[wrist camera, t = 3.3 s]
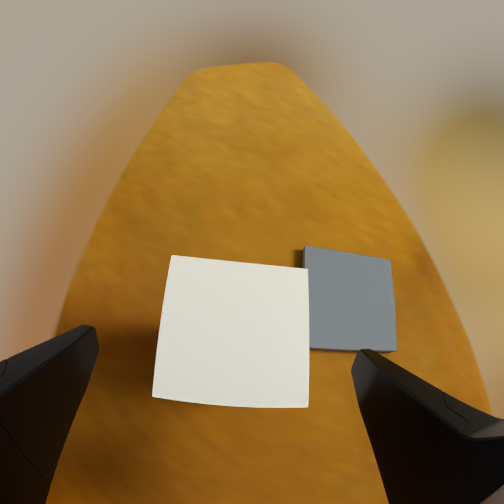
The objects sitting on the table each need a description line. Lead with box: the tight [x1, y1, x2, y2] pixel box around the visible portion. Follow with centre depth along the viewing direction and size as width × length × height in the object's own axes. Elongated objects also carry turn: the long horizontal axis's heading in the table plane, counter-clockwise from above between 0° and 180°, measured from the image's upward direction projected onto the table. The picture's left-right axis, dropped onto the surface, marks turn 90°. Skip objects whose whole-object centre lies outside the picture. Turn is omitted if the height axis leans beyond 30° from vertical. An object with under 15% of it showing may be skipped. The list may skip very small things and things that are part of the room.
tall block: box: [152, 255, 309, 408], centre depth 12 cm, size 4×4×10 cm
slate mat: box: [302, 246, 397, 352], centre depth 19 cm, size 7×7×1 cm
